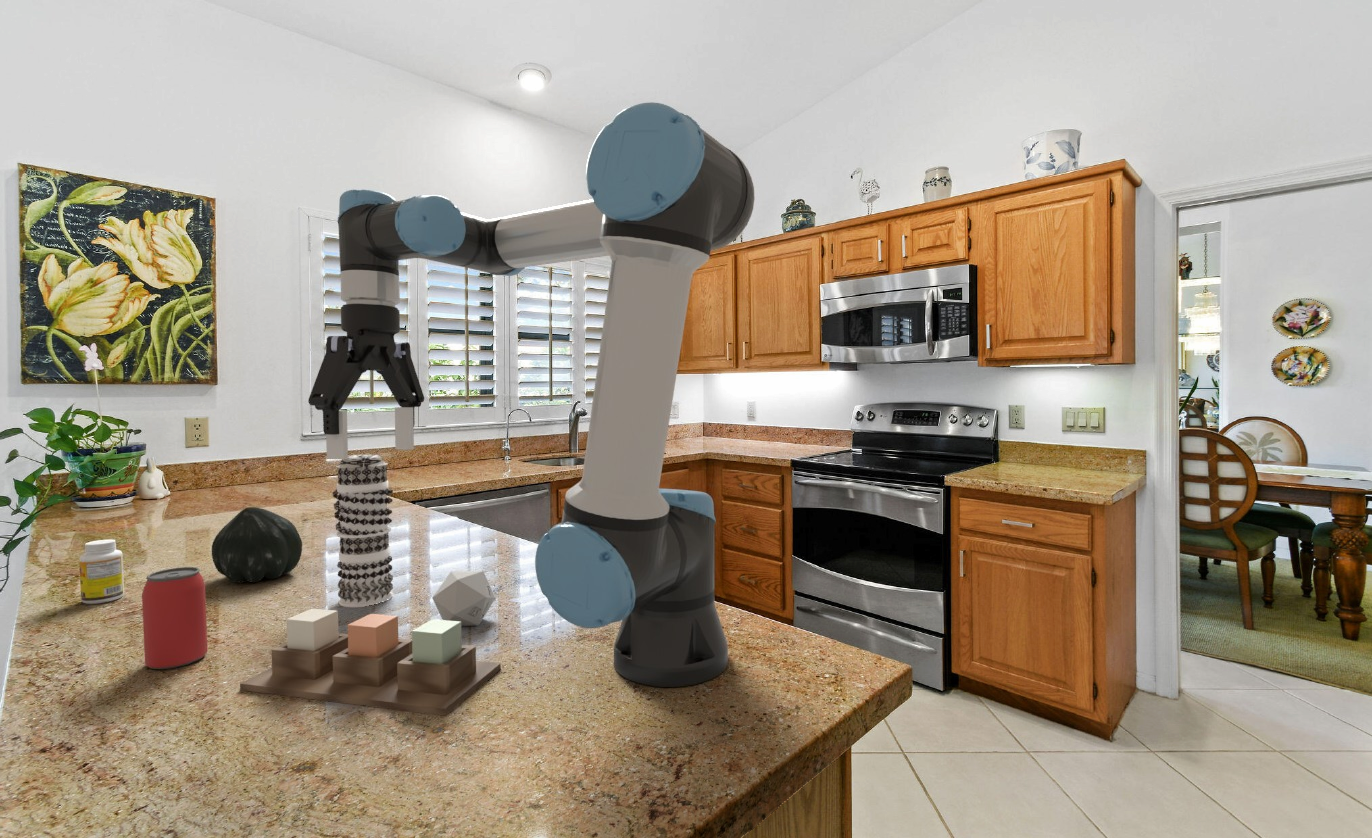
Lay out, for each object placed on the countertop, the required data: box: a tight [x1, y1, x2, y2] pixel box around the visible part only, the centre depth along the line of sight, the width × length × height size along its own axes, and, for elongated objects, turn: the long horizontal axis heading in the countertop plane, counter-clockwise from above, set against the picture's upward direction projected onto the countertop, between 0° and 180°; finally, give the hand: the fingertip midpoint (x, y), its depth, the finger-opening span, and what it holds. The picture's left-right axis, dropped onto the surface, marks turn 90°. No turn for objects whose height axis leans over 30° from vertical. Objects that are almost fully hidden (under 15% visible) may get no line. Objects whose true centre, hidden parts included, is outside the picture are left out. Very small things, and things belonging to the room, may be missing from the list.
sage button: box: [411, 618, 463, 665], centre depth 77 cm, size 4×4×4 cm
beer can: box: [141, 566, 208, 670], centre depth 85 cm, size 7×7×12 cm
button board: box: [239, 632, 502, 717], centre depth 79 cm, size 28×12×4 cm, turn 77°
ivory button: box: [286, 608, 339, 651], centre depth 81 cm, size 4×4×4 cm
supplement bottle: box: [78, 538, 125, 605], centre depth 110 cm, size 6×6×10 cm
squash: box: [211, 506, 303, 584], centre depth 123 cm, size 14×15×15 cm
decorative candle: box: [332, 454, 394, 609], centre depth 109 cm, size 9×9×25 cm
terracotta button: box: [347, 613, 400, 658], centre depth 79 cm, size 4×4×4 cm
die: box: [432, 570, 496, 627], centre depth 98 cm, size 8×9×10 cm
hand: (373, 454), depth 91 cm, fingers open, 13 cm apart
